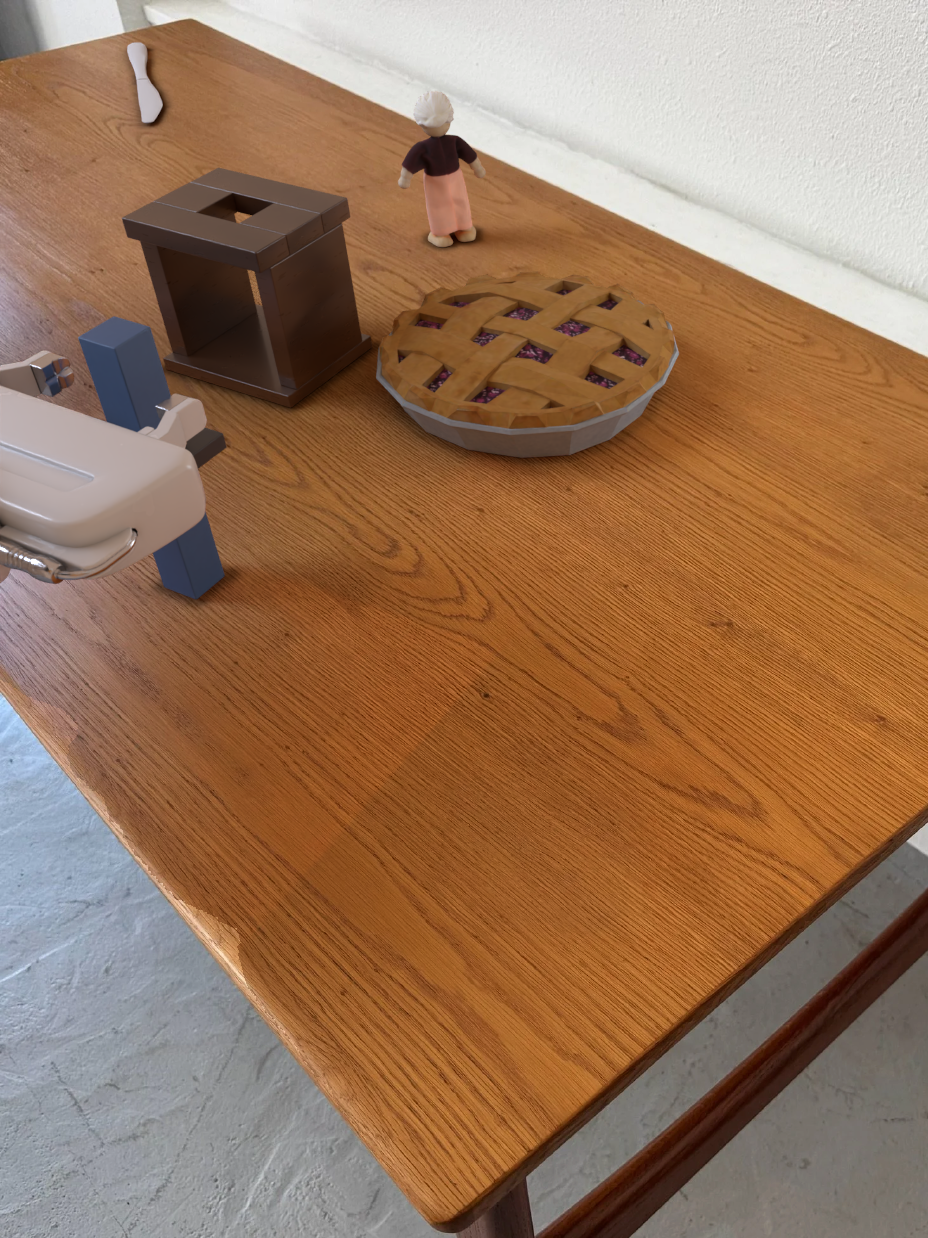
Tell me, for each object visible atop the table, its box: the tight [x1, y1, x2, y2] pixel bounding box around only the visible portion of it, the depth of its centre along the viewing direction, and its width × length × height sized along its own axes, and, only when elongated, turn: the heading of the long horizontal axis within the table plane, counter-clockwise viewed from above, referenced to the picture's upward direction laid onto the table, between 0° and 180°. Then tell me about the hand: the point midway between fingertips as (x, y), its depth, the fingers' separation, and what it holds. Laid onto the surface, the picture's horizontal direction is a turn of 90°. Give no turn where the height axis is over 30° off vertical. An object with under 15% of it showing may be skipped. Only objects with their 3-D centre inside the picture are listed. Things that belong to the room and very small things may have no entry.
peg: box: [77, 315, 228, 600], centre depth 70 cm, size 6×6×17 cm
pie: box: [375, 271, 680, 459], centre depth 91 cm, size 22×22×5 cm
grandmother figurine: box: [397, 90, 487, 248], centre depth 107 cm, size 8×4×13 cm, turn 126°
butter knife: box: [126, 42, 163, 124], centre depth 140 cm, size 1×27×3 cm
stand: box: [121, 167, 373, 409], centre depth 92 cm, size 10×12×12 cm
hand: (126, 385), depth 67 cm, fingers open, 8 cm apart
